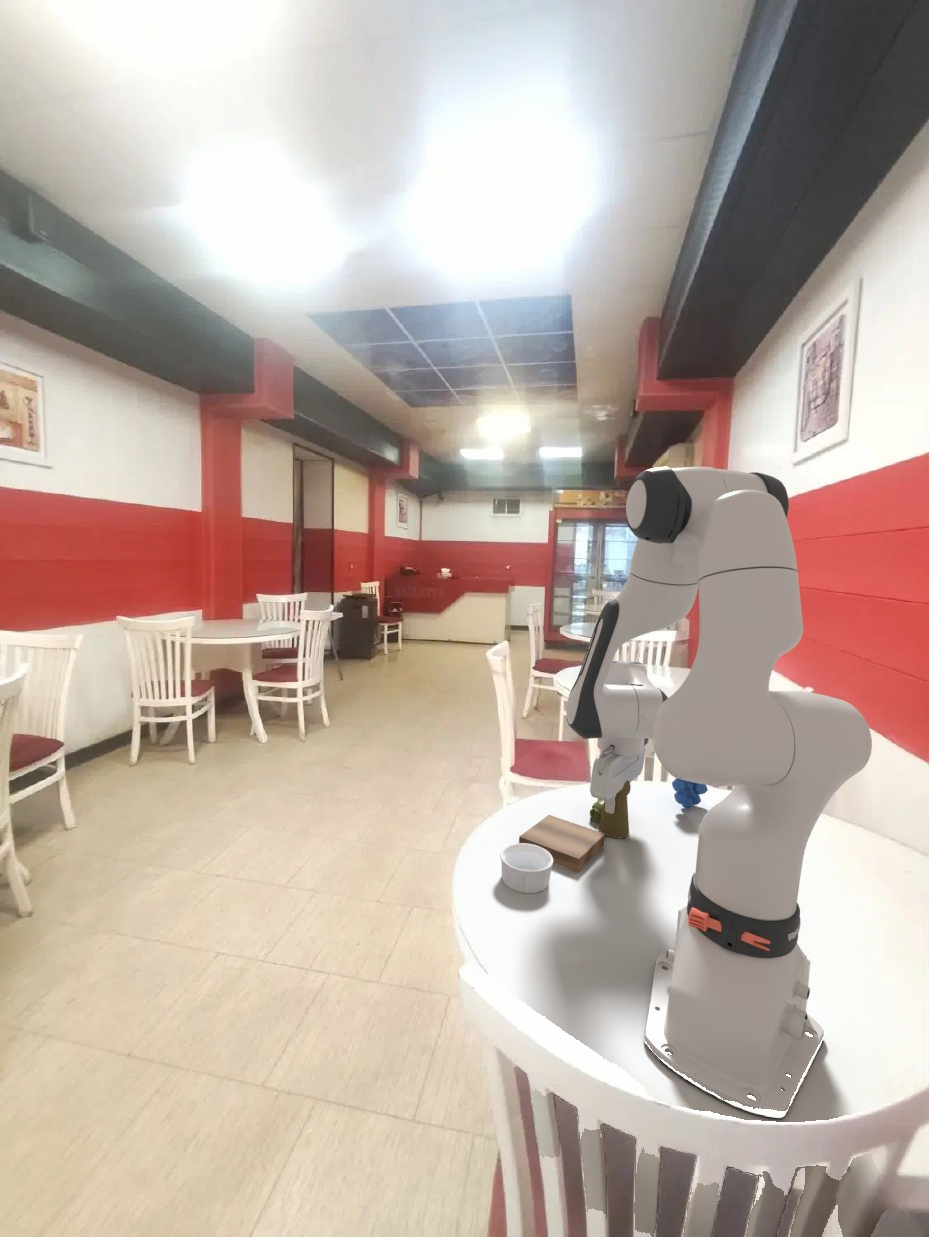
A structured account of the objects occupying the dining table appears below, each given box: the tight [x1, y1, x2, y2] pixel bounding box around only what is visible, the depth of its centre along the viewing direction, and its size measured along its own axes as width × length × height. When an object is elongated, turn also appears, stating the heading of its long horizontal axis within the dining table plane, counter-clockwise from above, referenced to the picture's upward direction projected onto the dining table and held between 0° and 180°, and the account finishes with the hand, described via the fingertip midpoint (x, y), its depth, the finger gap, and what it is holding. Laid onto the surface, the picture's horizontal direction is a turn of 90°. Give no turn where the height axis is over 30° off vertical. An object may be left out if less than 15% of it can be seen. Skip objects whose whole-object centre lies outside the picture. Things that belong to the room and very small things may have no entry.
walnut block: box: [518, 814, 606, 873], centre depth 103 cm, size 12×12×2 cm
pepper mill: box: [598, 781, 632, 839], centre depth 109 cm, size 6×6×11 cm
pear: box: [589, 798, 604, 824], centre depth 117 cm, size 6×5×10 cm
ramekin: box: [499, 842, 554, 894], centre depth 91 cm, size 9×9×4 cm
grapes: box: [671, 778, 708, 810], centre depth 122 cm, size 12×7×12 cm, turn 126°
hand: (615, 807), depth 109 cm, fingers closed on pepper mill, 4 cm apart
